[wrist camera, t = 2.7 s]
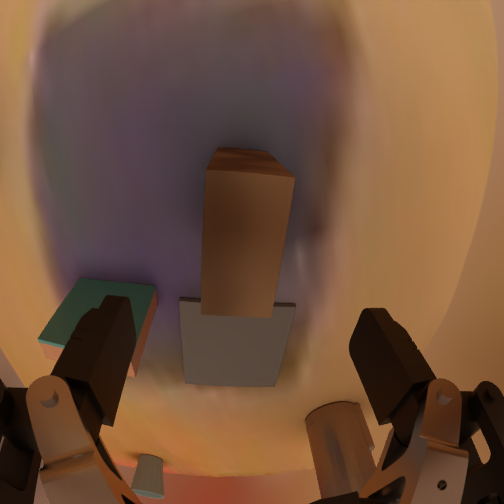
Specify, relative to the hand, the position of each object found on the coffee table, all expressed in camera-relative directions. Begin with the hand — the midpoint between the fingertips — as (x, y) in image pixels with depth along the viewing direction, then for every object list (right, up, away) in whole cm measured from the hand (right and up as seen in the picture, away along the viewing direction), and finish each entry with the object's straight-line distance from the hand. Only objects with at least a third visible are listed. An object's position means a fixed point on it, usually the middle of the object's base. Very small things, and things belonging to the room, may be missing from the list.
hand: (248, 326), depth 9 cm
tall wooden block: (-1, +7, +15) cm, 16 cm away
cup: (-24, -46, +40) cm, 65 cm away
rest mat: (-2, -9, +23) cm, 24 cm away
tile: (-14, -2, +18) cm, 23 cm away
